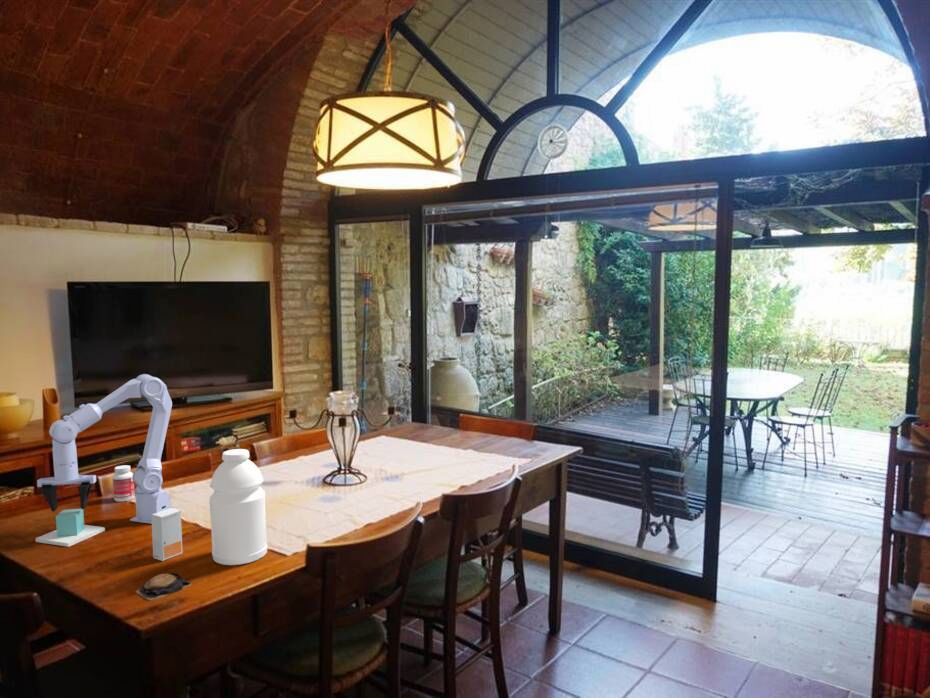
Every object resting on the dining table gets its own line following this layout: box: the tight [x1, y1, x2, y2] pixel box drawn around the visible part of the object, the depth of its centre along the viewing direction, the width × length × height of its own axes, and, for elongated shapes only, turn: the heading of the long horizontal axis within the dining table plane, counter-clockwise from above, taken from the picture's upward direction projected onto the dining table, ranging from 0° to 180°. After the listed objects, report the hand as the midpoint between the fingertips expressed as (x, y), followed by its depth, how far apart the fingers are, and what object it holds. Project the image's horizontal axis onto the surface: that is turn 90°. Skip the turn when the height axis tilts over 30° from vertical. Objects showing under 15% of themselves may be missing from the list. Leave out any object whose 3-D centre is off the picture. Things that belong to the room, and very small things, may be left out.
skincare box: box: [151, 507, 183, 562], centre depth 171 cm, size 6×4×12 cm
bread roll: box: [134, 572, 192, 602], centre depth 153 cm, size 11×8×4 cm
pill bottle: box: [112, 464, 135, 503], centre depth 217 cm, size 6×6×11 cm
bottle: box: [208, 448, 268, 566], centre depth 170 cm, size 14×14×28 cm
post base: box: [34, 524, 106, 548], centre depth 185 cm, size 12×12×6 cm
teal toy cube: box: [55, 508, 85, 537], centre depth 185 cm, size 5×5×6 cm
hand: (69, 509), depth 185 cm, fingers open, 7 cm apart
